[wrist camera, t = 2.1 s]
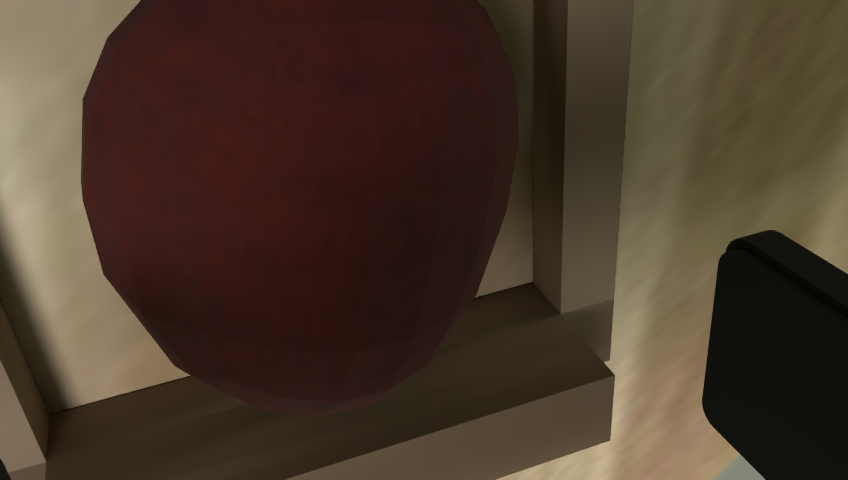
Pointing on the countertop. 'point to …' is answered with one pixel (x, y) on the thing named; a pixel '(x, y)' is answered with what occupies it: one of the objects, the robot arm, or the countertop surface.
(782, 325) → the robot arm
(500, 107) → the potato
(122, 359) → the countertop surface
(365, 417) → the holder
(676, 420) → the countertop surface
